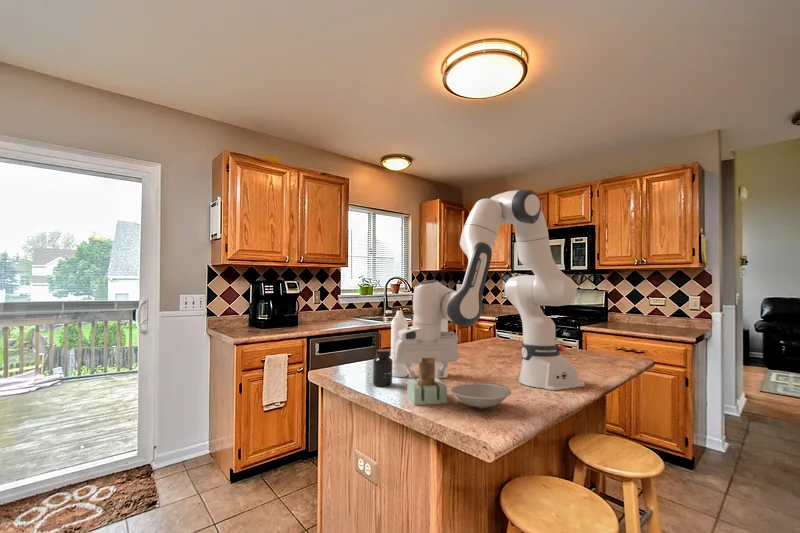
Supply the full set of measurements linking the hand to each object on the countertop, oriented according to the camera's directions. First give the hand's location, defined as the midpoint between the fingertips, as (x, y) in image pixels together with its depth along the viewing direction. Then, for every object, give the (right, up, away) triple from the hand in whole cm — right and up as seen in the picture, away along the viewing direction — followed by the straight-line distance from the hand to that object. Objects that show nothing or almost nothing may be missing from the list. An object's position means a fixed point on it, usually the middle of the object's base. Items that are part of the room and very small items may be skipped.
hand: (426, 376), depth 117 cm
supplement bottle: (-14, -8, +15) cm, 22 cm away
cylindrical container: (+7, -8, +28) cm, 30 cm away
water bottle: (-10, -8, +27) cm, 30 cm away
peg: (0, -6, 0) cm, 6 cm away
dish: (+15, -7, -8) cm, 19 cm away
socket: (0, -7, 0) cm, 7 cm away
